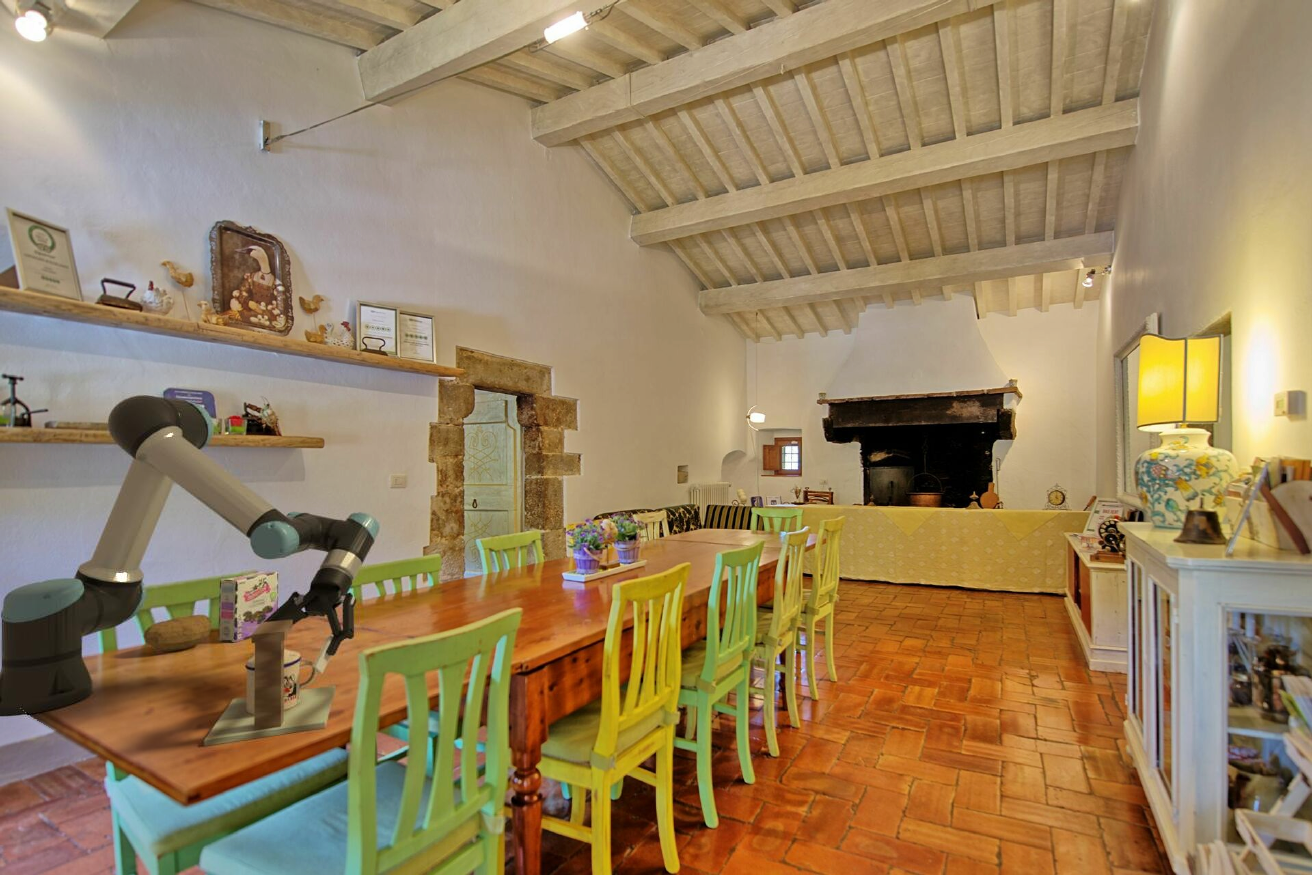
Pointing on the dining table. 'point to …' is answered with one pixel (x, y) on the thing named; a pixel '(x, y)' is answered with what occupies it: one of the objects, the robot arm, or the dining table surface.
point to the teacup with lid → (290, 680)
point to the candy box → (246, 604)
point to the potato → (178, 633)
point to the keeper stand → (271, 696)
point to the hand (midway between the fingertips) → (285, 668)
